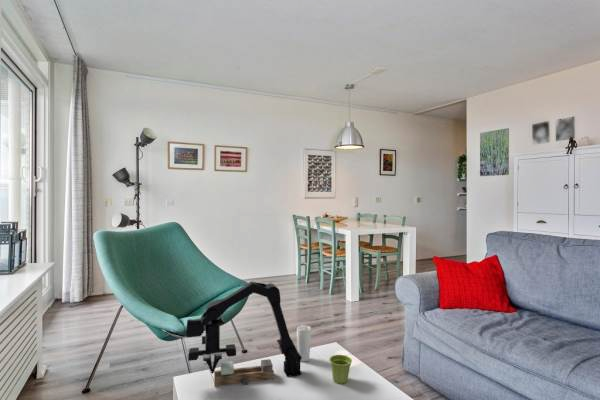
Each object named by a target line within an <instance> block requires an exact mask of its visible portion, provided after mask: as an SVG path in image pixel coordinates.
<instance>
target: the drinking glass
mask: <svg viewBox="0 0 600 400" xmlns="http://www.w3.org/2000/svg"><path fill="white" fill-rule="evenodd" d="M311 341H312V327H311V326H310V325H305V324H304V325H299V326H297V327H296V343H297V344H296V346H297V347H296V348H297V351H298V352H299V354H300V355H301V357H302V358H301V361H300V362H304V363H305V361H306V362H308V361H310V354H311V353H310V352H311Z"/></svg>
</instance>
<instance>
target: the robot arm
mask: <svg viewBox="0 0 600 400" xmlns="http://www.w3.org/2000/svg"><path fill="white" fill-rule="evenodd" d="M252 294H257V295H259V296H262V297H266V300H267V301H268V303H269V305H270V306H271V310H272V314H273V317H274V320H275V324H276V328H277V331H278V334H279V339H277V340H276V342H277V344H278V350H279V351H280V354H281V355H283V356H284V361H283V373H284V374H285V376H286V377H294V376H301V375H302V372H301V362H302V361H301V358H302V357H301V355H300V354H299V352H298V348H297V347H296V346H295V343H294V342H293V340H292V338H291V336H290V333H289V330H288V327H287V323H286V320H285V316H284V312H283V309H282V307H281V293H280V289H279V288H278V287H277V286H276V285H275V284H274V283H271V282H270V283H263V282H256V281H250V282H248V283H247V284H246V285H244V286H242V287H240V288H239V289H237V290H236V291H234V292H231V293H230V294H229V295H227V296H225V297H224V298H223V297H222V298H220V299H216V300H214V301H211V302H209V303H208V304H207V305H206V307H205V311H204V312H203V313H202V315H201V317H200V319H199V318H197V319H195V318H194V319H187V320H186V330H185V331H186V339H187V338H189V339H190V338H198V337H201V345H205V346H204V347H205V348H204V349H203V350H202V349H201V350H200V347H191V348H189V349H188V355H187V360H188V361H190V362H191V361H197V360H198V359H199V356H200V357H201V356H202V360H203V362H206V364H207V366H208V368H209V371H210V373H211V374H212V375H213V374H214V371H216V368H217V365H218V363H219V362H220V360H222V359H223V354H226V356H227V357H236V356H237V347H236V345H235V344H234V343H233V344H232V343H231V344H225V347H224V348H223V347H221V346H220V345H221V343H220V342H221V334H220V333H221V326H220V325H224V324H225V319H224V318H223V317H222V315H223V314H224V313H225V312H227V310H228V309H229V308H231V307H232V306H235V305H236V304H237V303H239V302H240V301H242V300H244V299H245V298H247V297H248V296H250V295H252ZM204 326H205V327H204ZM204 329H205V330H204ZM204 333H205V334H204ZM203 334H204V335H203ZM212 356H213V360H212ZM212 361H213V362H212Z"/></svg>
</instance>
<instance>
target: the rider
mask: <svg viewBox="0 0 600 400" xmlns="http://www.w3.org/2000/svg"><path fill="white" fill-rule="evenodd" d="M234 369H235V366H234V361H225V362H224V361H222V362H220V370H221V375H231V374H233V373H234Z"/></svg>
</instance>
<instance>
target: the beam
mask: <svg viewBox="0 0 600 400" xmlns="http://www.w3.org/2000/svg"><path fill="white" fill-rule="evenodd" d="M273 367H274V366H273V363H272V360H271V359H270V358H269V359H261V360H260V365H256V366H248V367H247V366H246V367H235V368H234V373H233V374H231V375H221V369H219V370H218V369H216V370H215V371H214V373H213V374H214V376H213V378H214V387H222V386H231V385H238V384H241V386H246V385H249V383H256V382H263V381H274V380H275V372H274V369H273Z"/></svg>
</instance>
